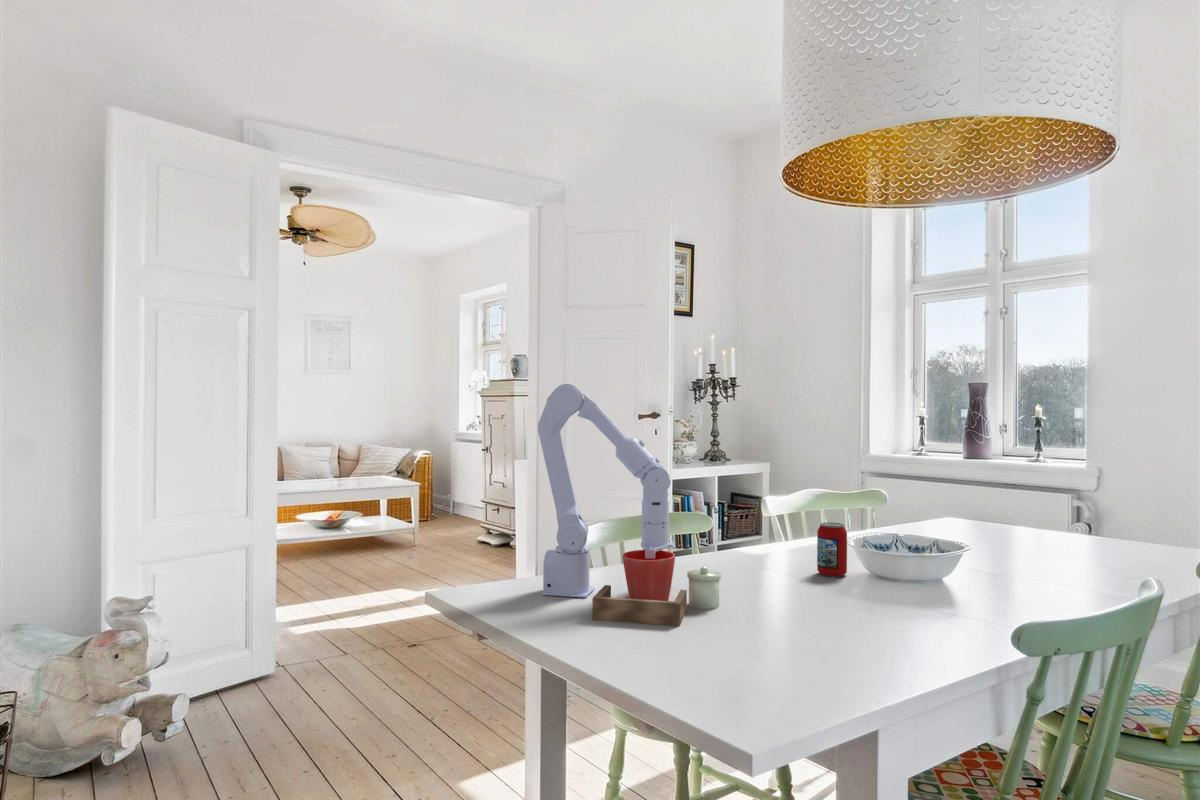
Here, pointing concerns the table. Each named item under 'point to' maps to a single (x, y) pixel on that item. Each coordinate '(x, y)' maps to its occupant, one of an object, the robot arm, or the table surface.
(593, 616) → the wooden tray
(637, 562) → the flower pot
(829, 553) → the beverage can
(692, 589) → the green jar
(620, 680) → the table surface
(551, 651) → the table surface
